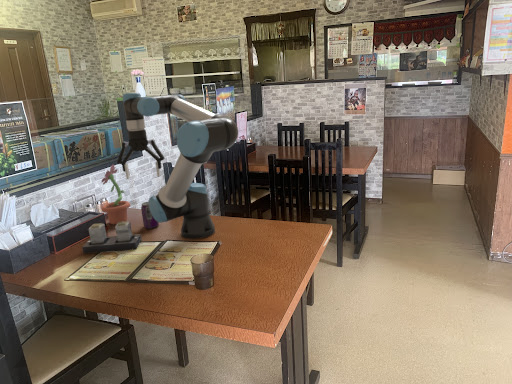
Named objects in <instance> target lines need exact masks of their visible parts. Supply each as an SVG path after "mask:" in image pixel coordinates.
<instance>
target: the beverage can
mask: <svg viewBox="0 0 512 384" xmlns="http://www.w3.org/2000/svg"><path fill="white" fill-rule="evenodd" d="M148 202H149V201H145V202H142V203H141V208H140V210H141V216H142V223H143V224H142V225H143V228H146V229H154V228H157V227H158V226H159V224H160V223H159V222H157V221H156V220H155V219H154V218H153V216H152V214H151V212H150V209H149V203H148Z"/></svg>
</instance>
